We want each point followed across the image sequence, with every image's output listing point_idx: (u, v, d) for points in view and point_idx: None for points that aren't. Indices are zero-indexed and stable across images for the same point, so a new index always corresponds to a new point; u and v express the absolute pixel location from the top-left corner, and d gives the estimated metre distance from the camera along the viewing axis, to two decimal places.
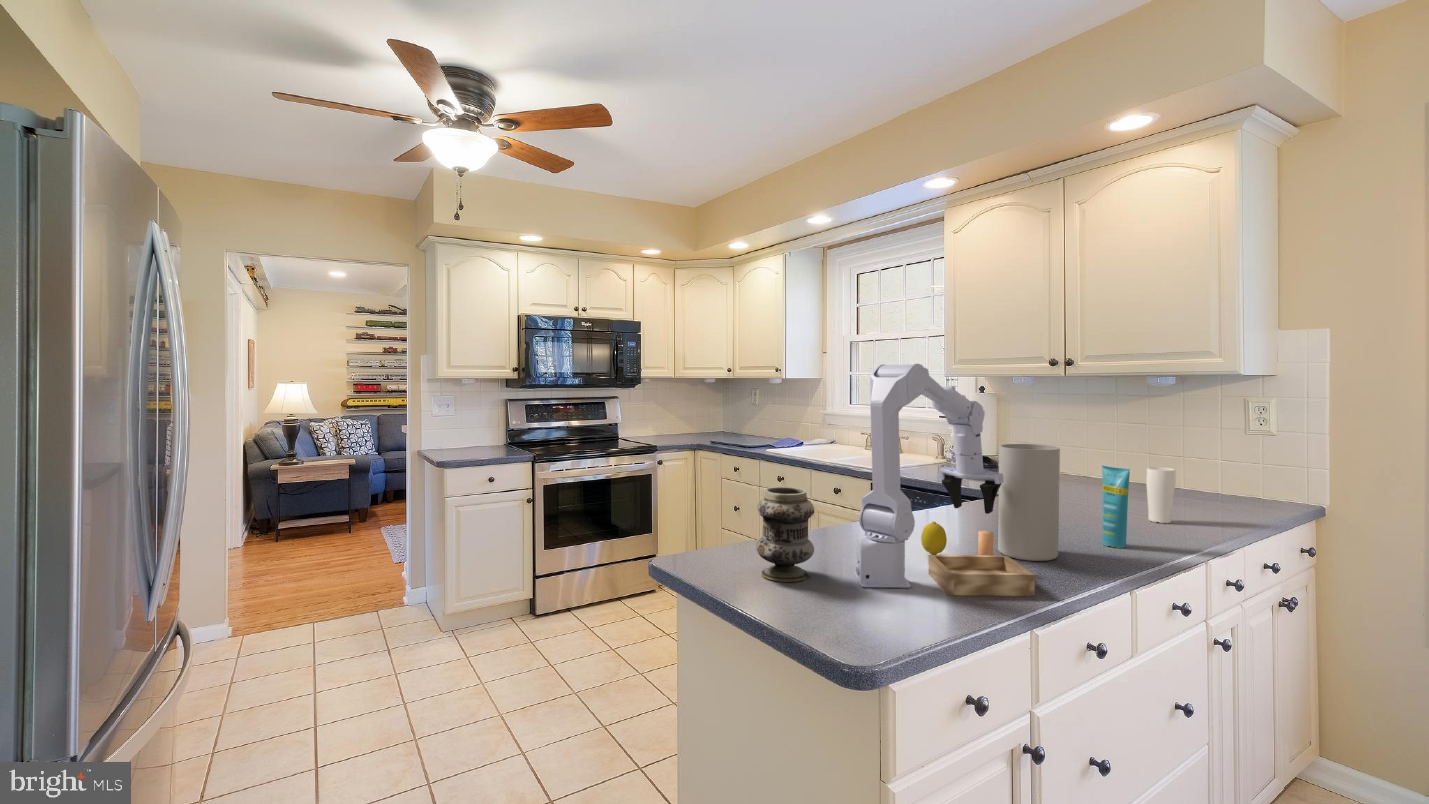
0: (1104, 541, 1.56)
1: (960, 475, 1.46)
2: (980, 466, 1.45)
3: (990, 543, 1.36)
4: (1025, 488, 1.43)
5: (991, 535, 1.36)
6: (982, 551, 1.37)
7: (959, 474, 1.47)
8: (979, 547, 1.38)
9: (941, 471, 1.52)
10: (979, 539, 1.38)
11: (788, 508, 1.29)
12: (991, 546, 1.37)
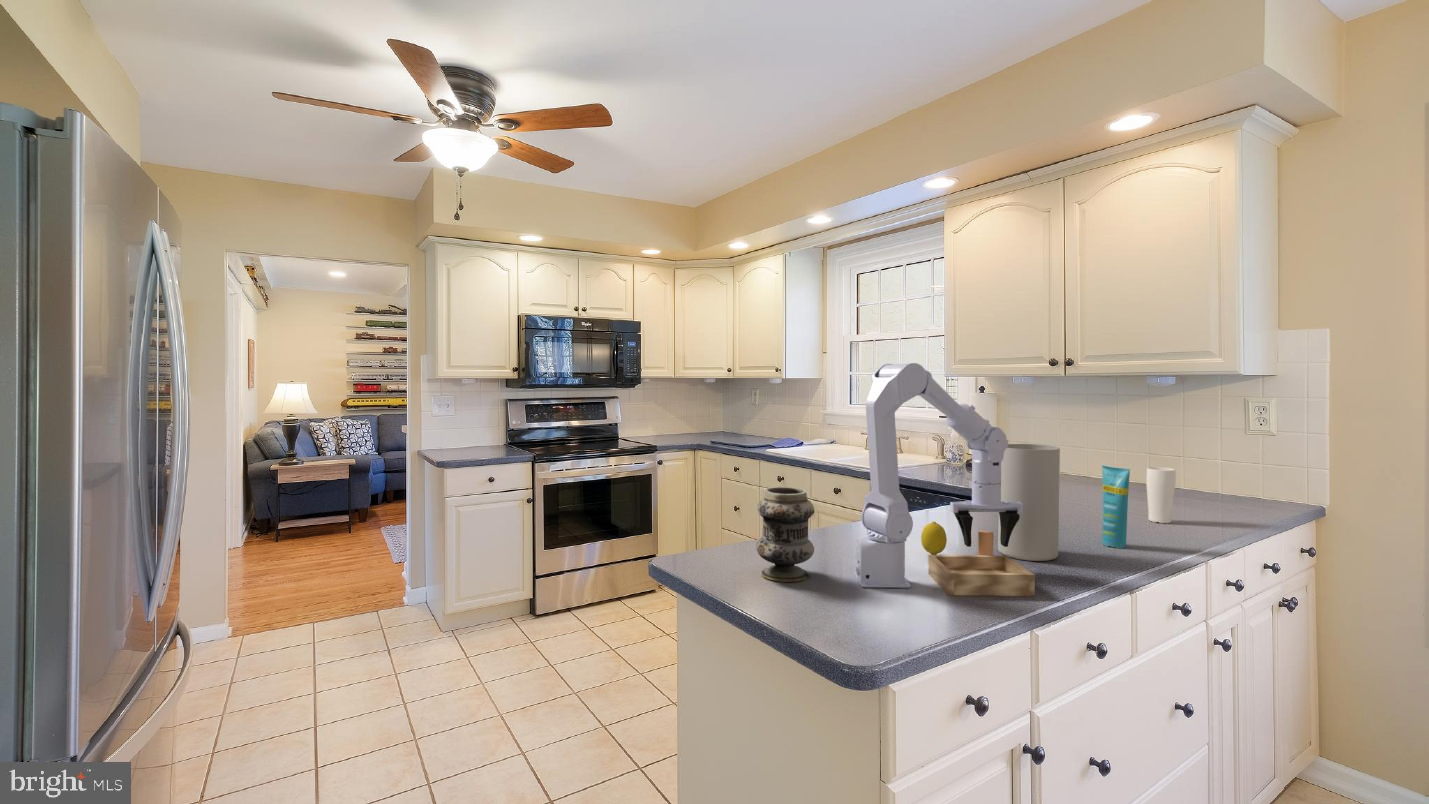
0: (1104, 541, 1.56)
1: (988, 507, 1.35)
2: None
3: (990, 543, 1.36)
4: (1025, 488, 1.43)
5: (991, 535, 1.36)
6: (982, 551, 1.37)
7: (986, 506, 1.35)
8: (979, 547, 1.38)
9: (956, 506, 1.37)
10: (979, 539, 1.38)
11: (788, 508, 1.29)
12: (991, 546, 1.37)
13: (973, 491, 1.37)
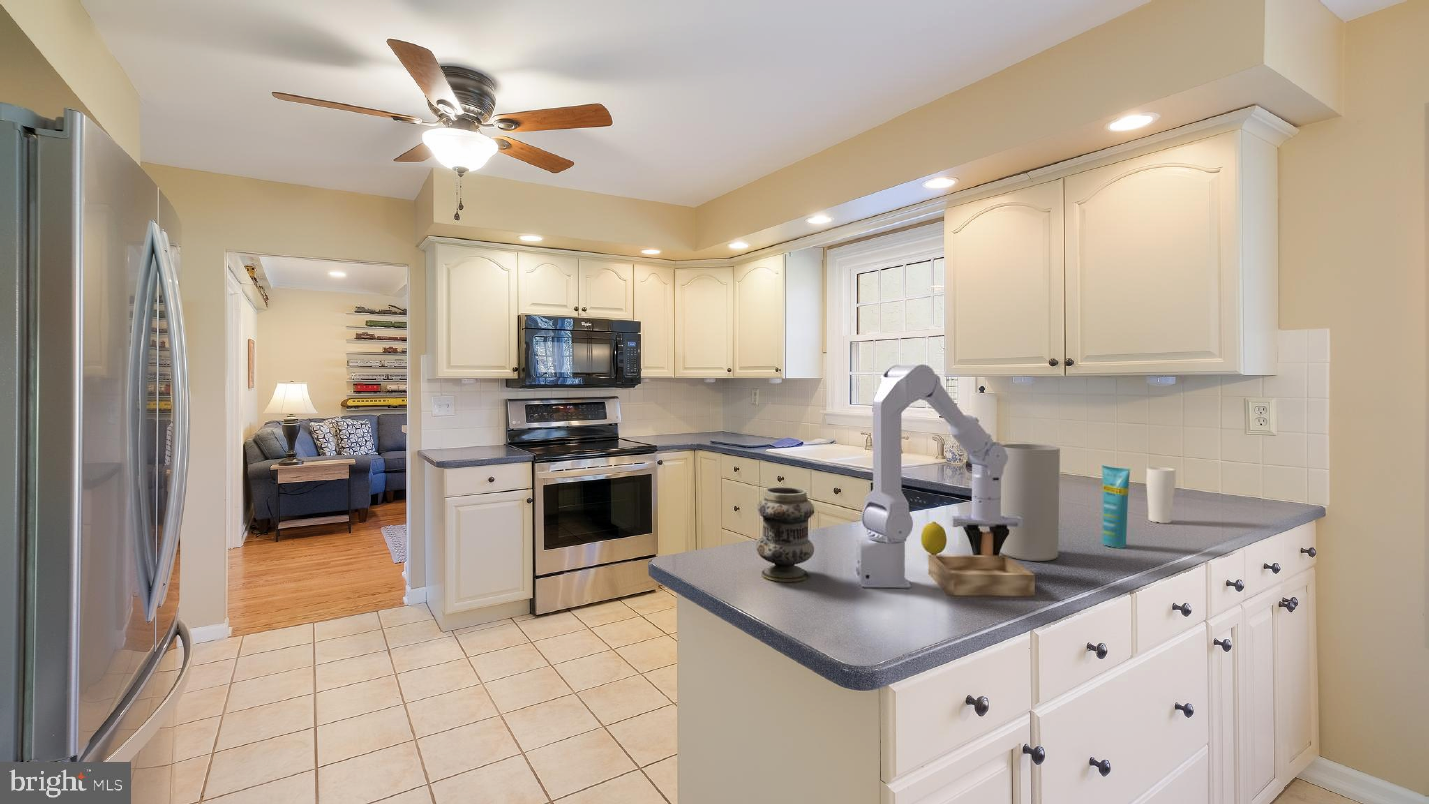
0: (1104, 541, 1.56)
1: (988, 521, 1.35)
2: None
3: (990, 543, 1.36)
4: (1025, 488, 1.43)
5: (991, 535, 1.36)
6: (982, 551, 1.37)
7: (986, 521, 1.35)
8: None
9: (955, 521, 1.37)
10: None
11: (788, 508, 1.29)
12: (991, 546, 1.37)
13: (973, 506, 1.37)
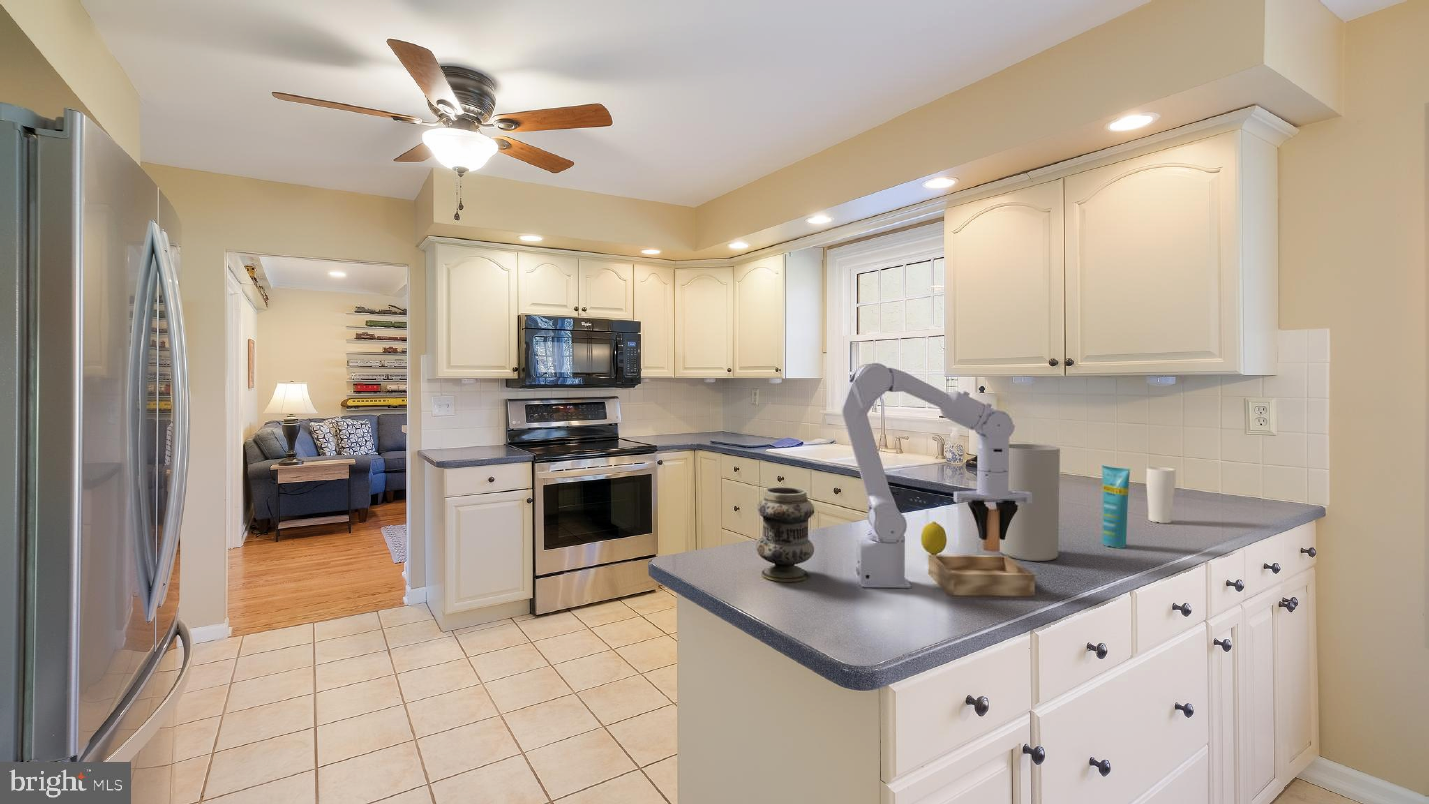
0: (1104, 541, 1.56)
1: (994, 496, 1.25)
2: None
3: (996, 521, 1.27)
4: (1025, 488, 1.43)
5: (997, 512, 1.27)
6: (987, 529, 1.27)
7: (993, 495, 1.25)
8: None
9: (959, 496, 1.27)
10: None
11: (788, 508, 1.29)
12: (997, 524, 1.27)
13: (978, 480, 1.27)
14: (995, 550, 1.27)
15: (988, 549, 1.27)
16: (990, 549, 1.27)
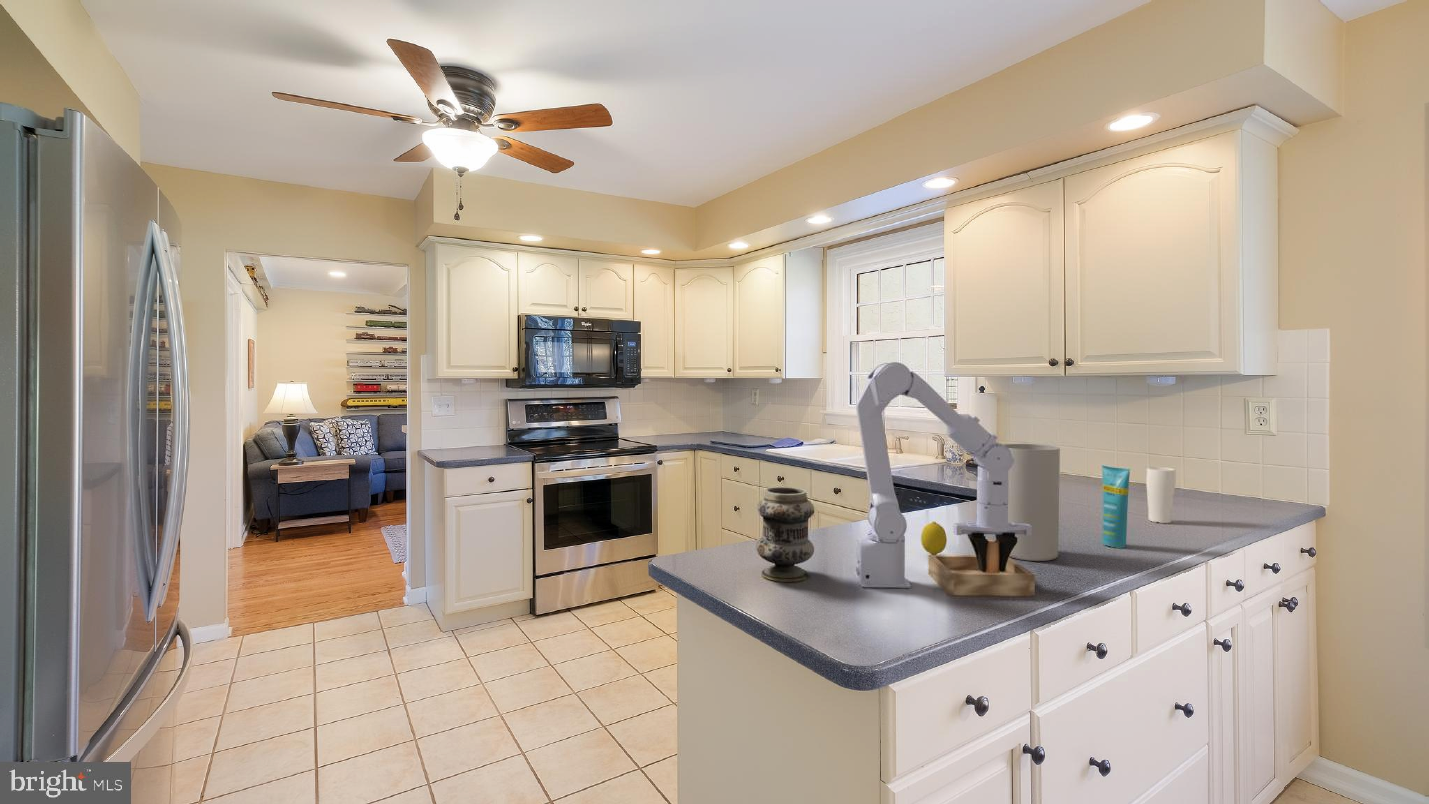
0: (1104, 541, 1.56)
1: (994, 529, 1.25)
2: None
3: (996, 553, 1.27)
4: (1025, 488, 1.43)
5: (997, 544, 1.27)
6: (987, 561, 1.27)
7: (992, 528, 1.25)
8: None
9: (959, 528, 1.27)
10: None
11: (788, 508, 1.29)
12: (997, 556, 1.27)
13: (978, 512, 1.27)
14: None
15: None
16: None
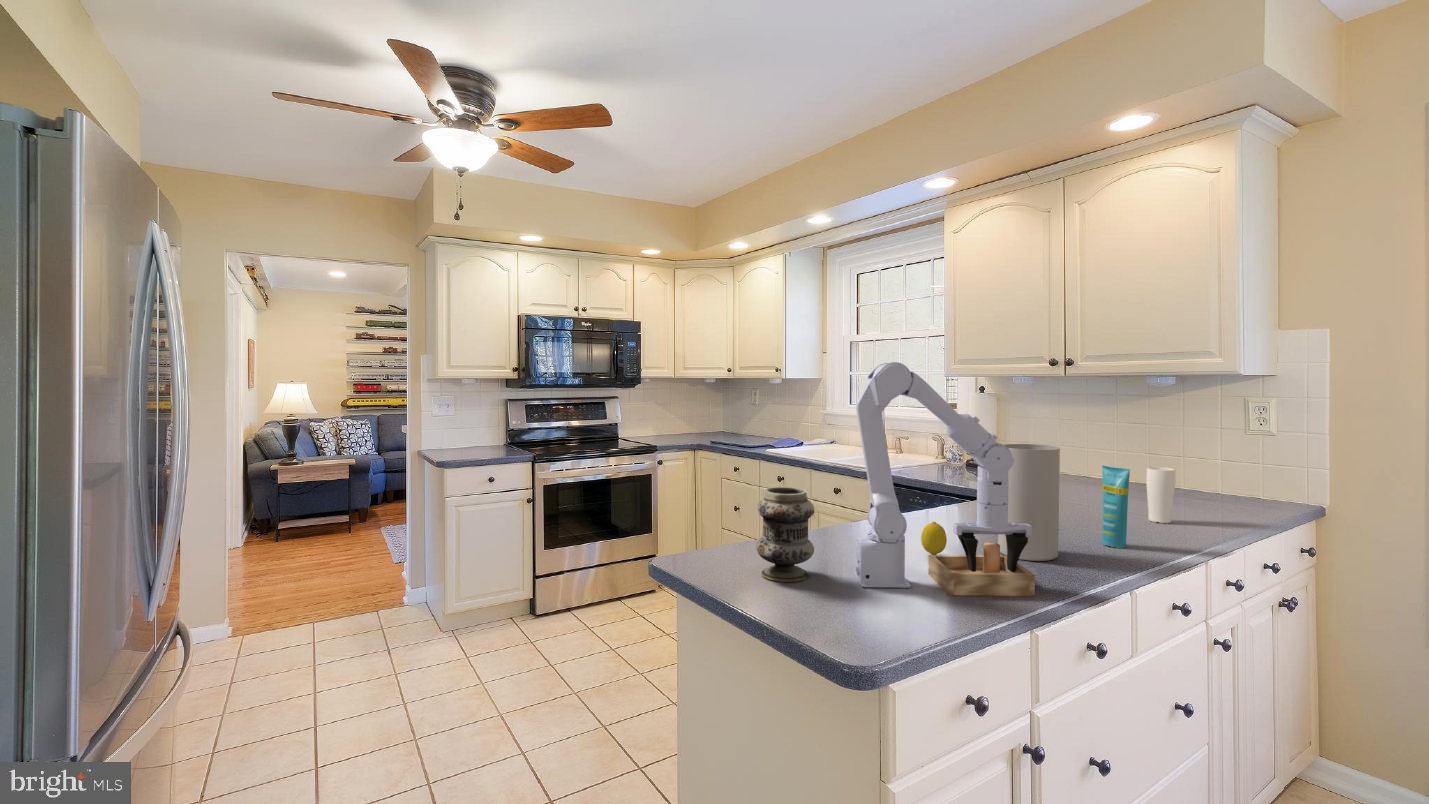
0: (1104, 541, 1.56)
1: (994, 529, 1.25)
2: None
3: (996, 557, 1.27)
4: (1025, 488, 1.43)
5: (997, 548, 1.27)
6: (987, 564, 1.27)
7: (992, 528, 1.25)
8: (984, 560, 1.28)
9: (959, 528, 1.27)
10: (984, 552, 1.28)
11: (788, 508, 1.29)
12: (997, 559, 1.27)
13: (978, 512, 1.27)
14: None
15: None
16: None
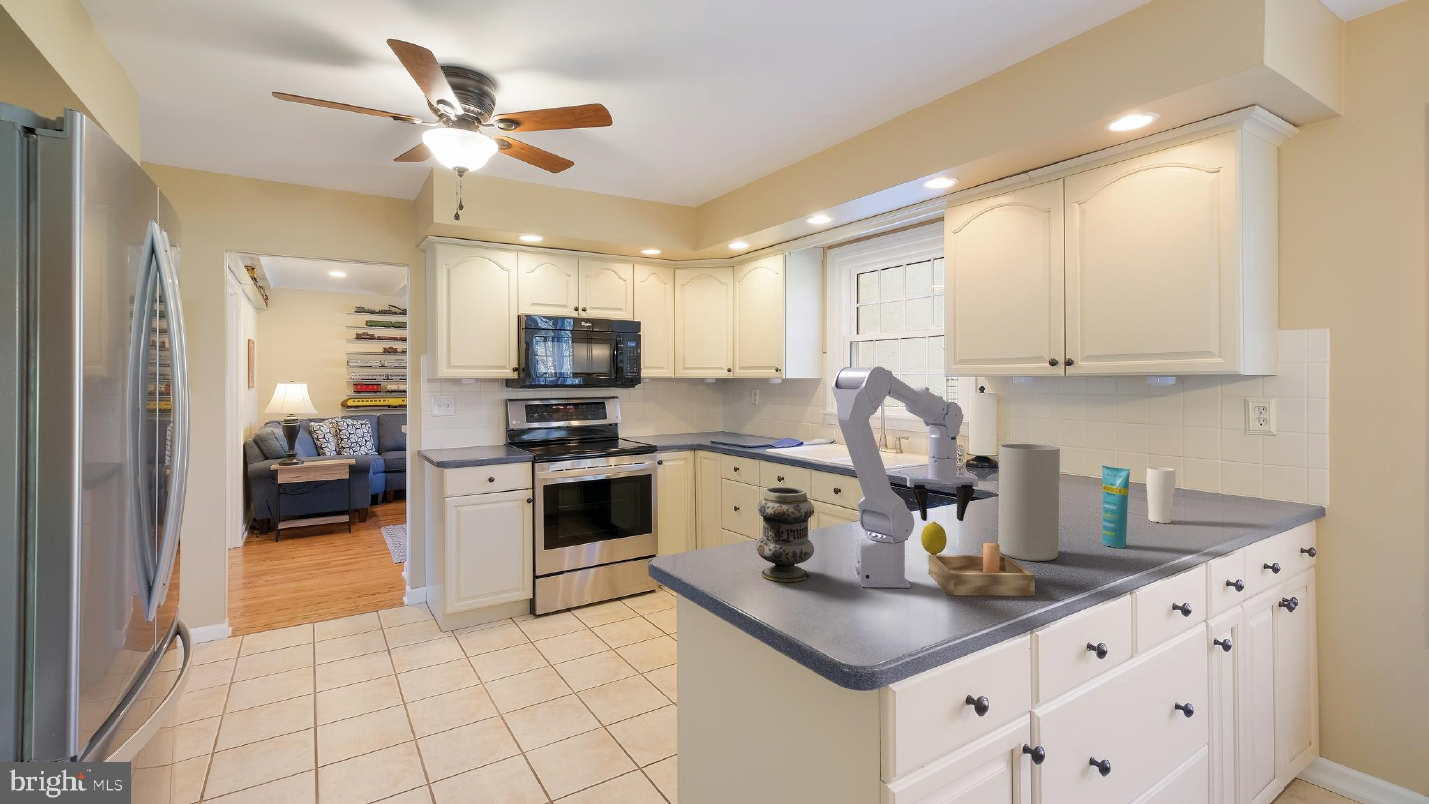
0: (1104, 541, 1.56)
1: (943, 481, 1.36)
2: None
3: (996, 556, 1.27)
4: (1025, 488, 1.43)
5: (997, 547, 1.27)
6: (987, 564, 1.27)
7: (941, 480, 1.36)
8: (984, 560, 1.28)
9: (912, 480, 1.38)
10: (984, 552, 1.28)
11: (788, 508, 1.29)
12: (997, 559, 1.27)
13: (929, 466, 1.38)
14: None
15: None
16: None
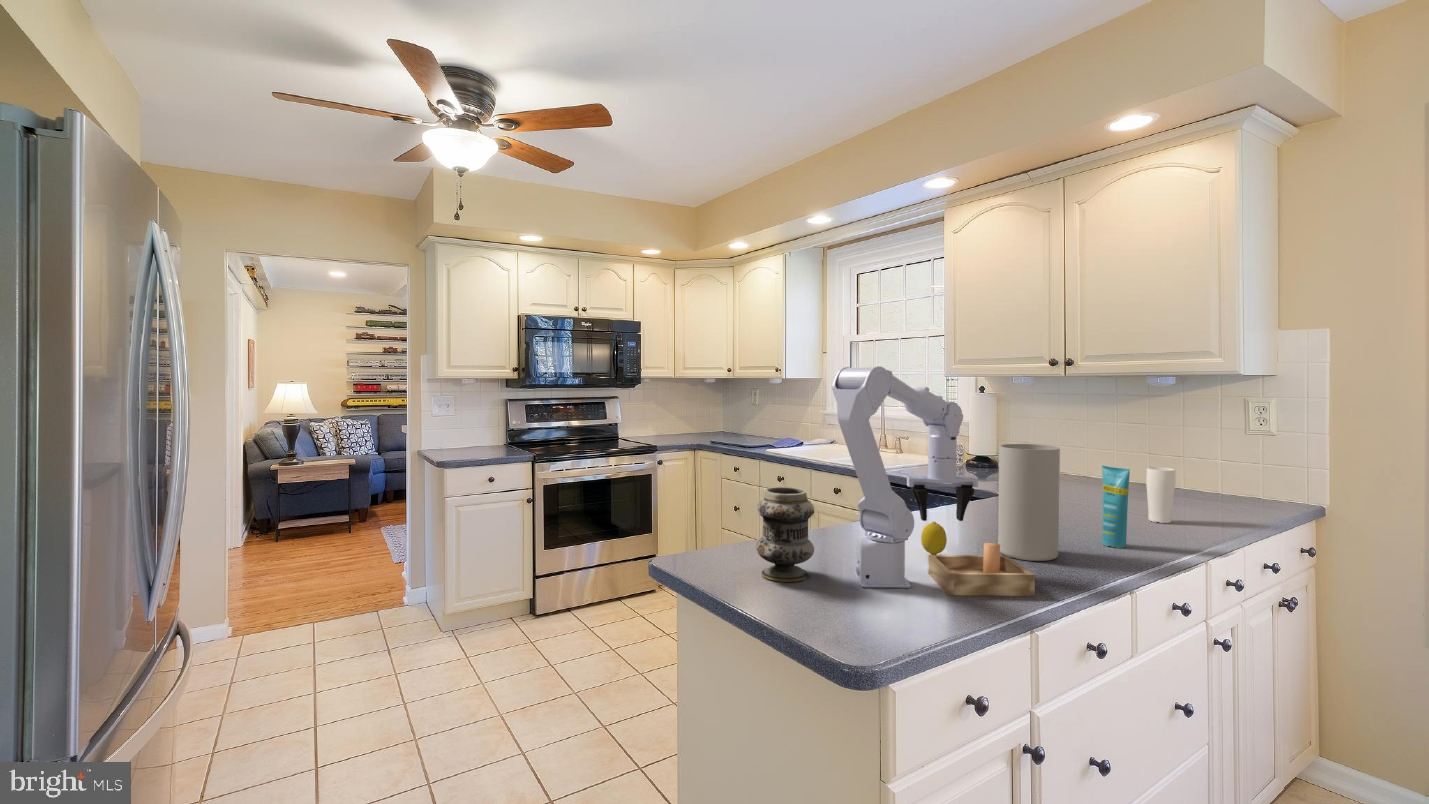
0: (1104, 541, 1.56)
1: (943, 481, 1.36)
2: None
3: (996, 556, 1.27)
4: (1025, 488, 1.43)
5: (997, 547, 1.27)
6: (987, 564, 1.27)
7: (941, 480, 1.36)
8: (984, 560, 1.28)
9: (911, 480, 1.38)
10: (984, 551, 1.28)
11: (788, 508, 1.29)
12: (997, 559, 1.27)
13: (929, 466, 1.38)
14: None
15: None
16: None
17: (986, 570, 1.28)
